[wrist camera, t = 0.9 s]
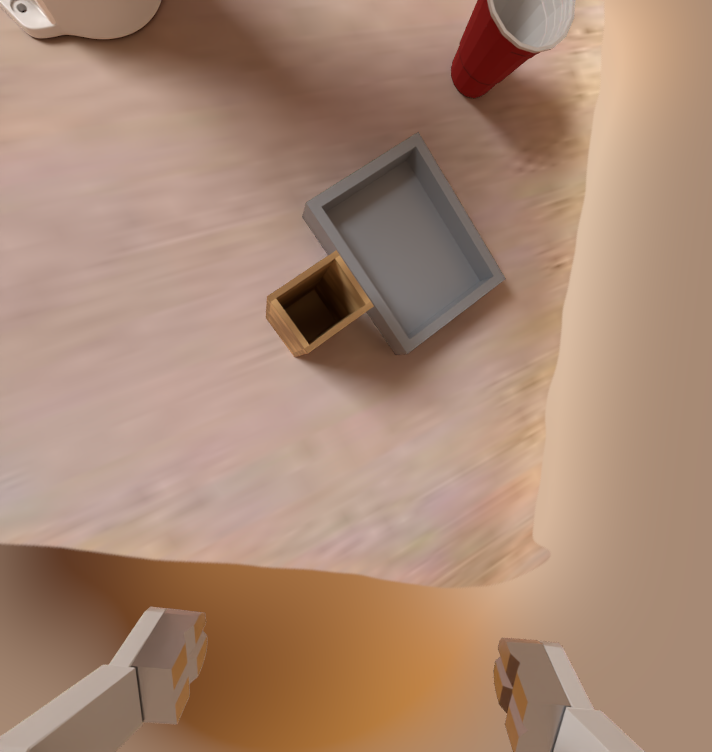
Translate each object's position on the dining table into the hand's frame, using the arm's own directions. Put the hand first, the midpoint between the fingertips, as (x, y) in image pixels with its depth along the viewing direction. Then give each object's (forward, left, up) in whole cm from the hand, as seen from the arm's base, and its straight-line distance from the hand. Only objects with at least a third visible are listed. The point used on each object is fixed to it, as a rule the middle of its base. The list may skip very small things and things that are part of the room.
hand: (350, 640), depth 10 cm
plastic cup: (-5, +51, -35) cm, 62 cm away
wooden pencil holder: (-5, +12, -35) cm, 38 cm away
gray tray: (0, +26, -35) cm, 44 cm away
